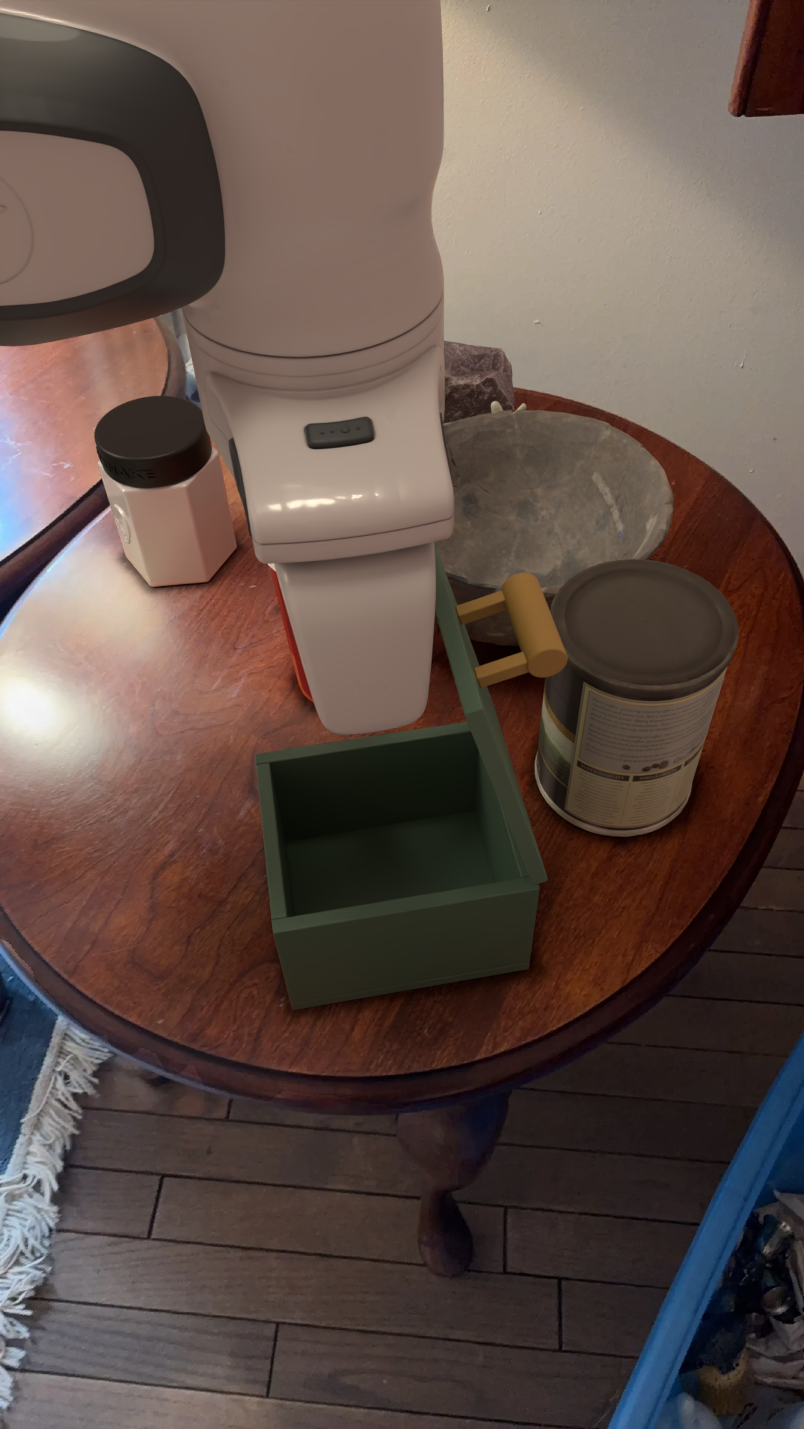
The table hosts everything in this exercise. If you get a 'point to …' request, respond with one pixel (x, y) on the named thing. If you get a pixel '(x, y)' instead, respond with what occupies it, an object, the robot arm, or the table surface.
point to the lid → (536, 657)
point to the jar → (165, 489)
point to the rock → (475, 380)
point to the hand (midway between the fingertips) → (347, 641)
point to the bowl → (545, 504)
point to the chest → (390, 866)
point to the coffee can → (631, 694)
